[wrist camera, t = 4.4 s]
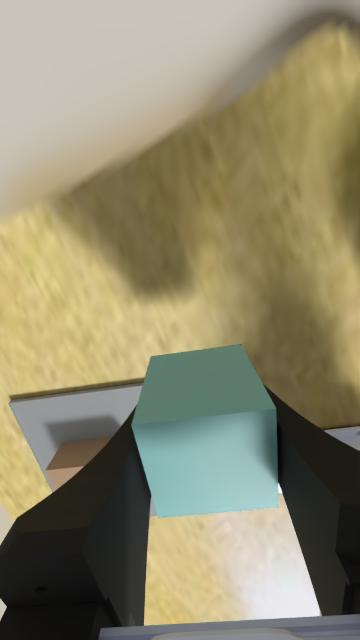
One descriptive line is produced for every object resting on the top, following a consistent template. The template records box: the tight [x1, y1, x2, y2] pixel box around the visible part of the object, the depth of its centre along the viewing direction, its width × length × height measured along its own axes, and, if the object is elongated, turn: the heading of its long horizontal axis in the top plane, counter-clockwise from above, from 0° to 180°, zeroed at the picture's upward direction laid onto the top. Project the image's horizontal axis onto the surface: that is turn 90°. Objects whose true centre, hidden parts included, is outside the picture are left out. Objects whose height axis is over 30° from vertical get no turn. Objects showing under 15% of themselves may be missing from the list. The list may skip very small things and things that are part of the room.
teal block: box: [131, 344, 279, 518], centre depth 11 cm, size 5×5×5 cm
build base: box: [8, 382, 157, 517], centre depth 23 cm, size 14×18×4 cm
